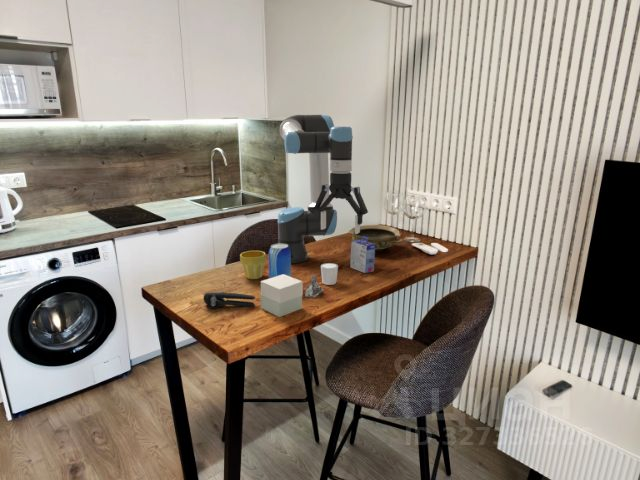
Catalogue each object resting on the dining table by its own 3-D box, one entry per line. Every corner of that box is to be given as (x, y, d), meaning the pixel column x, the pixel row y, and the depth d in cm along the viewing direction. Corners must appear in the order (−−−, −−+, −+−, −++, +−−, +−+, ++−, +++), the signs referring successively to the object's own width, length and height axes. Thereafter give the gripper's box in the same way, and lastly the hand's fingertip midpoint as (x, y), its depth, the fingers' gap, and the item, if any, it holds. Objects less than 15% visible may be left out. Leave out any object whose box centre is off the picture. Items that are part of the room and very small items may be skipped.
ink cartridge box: (375, 271, 183) (376, 238, 179) (365, 274, 180) (366, 240, 176) (359, 265, 191) (359, 233, 187) (349, 267, 188) (350, 235, 184)
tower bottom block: (261, 308, 148) (260, 295, 146) (283, 300, 154) (283, 287, 153) (279, 317, 141) (278, 303, 139) (302, 308, 147) (301, 295, 146)
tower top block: (261, 295, 146) (260, 281, 145) (283, 287, 153) (283, 274, 152) (279, 303, 139) (279, 289, 138) (302, 295, 146) (302, 281, 145)
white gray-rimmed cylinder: (325, 286, 166) (325, 269, 164) (317, 280, 172) (317, 264, 170) (341, 283, 169) (341, 266, 168) (332, 278, 175) (332, 261, 173)
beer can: (282, 290, 162) (281, 250, 158) (265, 286, 167) (263, 246, 162) (295, 283, 169) (294, 244, 165) (278, 279, 173) (277, 241, 169)
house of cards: (306, 286, 167) (306, 268, 165) (325, 291, 163) (326, 272, 161) (293, 294, 160) (293, 275, 158) (313, 299, 155) (313, 279, 153)
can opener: (201, 311, 145) (200, 295, 144) (206, 302, 152) (205, 287, 151) (254, 310, 146) (253, 295, 144) (256, 302, 153) (256, 287, 151)
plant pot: (239, 273, 180) (238, 251, 177) (263, 271, 183) (262, 249, 181) (243, 282, 171) (242, 258, 168) (269, 279, 174) (268, 256, 171)
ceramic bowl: (335, 250, 213) (335, 230, 210) (361, 240, 231) (362, 221, 229) (388, 262, 195) (389, 241, 192) (412, 250, 213) (413, 230, 211)
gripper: (304, 171, 153) (305, 229, 158) (370, 175, 141) (368, 237, 147) (314, 169, 159) (314, 225, 165) (378, 172, 148) (376, 232, 154)
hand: (340, 231), depth 156 cm, fingers open, 13 cm apart
